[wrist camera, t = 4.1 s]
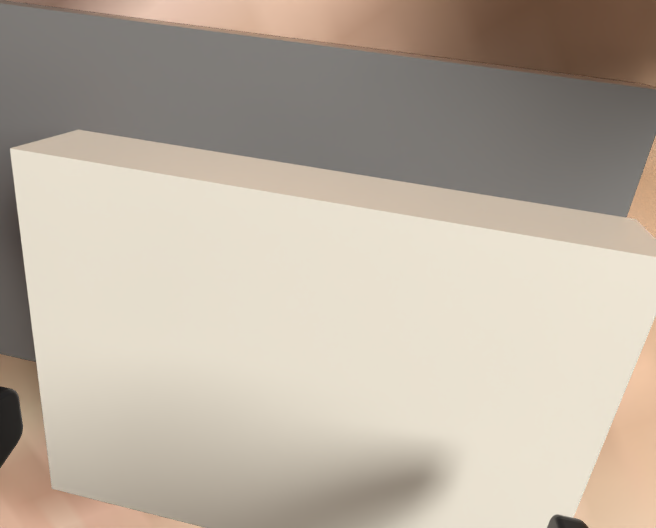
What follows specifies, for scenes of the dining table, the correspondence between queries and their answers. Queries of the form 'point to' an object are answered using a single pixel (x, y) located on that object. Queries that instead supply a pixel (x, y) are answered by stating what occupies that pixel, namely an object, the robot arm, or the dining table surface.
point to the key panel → (309, 115)
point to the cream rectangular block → (319, 339)
